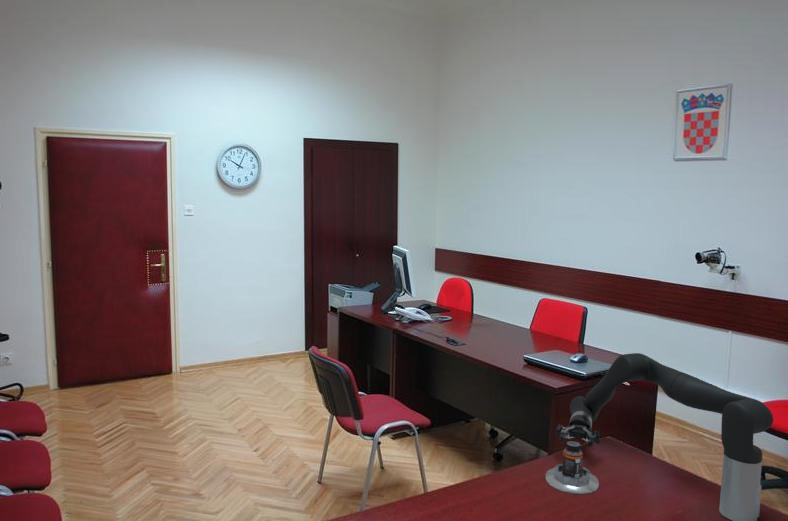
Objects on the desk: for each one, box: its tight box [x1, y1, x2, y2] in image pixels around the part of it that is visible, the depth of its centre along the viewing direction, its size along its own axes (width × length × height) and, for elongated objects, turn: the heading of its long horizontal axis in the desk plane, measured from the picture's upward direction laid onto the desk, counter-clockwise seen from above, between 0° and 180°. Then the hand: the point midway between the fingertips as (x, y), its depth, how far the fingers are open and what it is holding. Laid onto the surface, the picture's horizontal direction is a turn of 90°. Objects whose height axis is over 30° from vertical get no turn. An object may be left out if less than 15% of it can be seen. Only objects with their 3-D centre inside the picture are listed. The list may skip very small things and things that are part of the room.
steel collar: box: [545, 463, 600, 495], centre depth 182 cm, size 16×16×4 cm
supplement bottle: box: [562, 440, 584, 478], centre depth 182 cm, size 6×6×11 cm
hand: (576, 441), depth 191 cm, fingers open, 8 cm apart
